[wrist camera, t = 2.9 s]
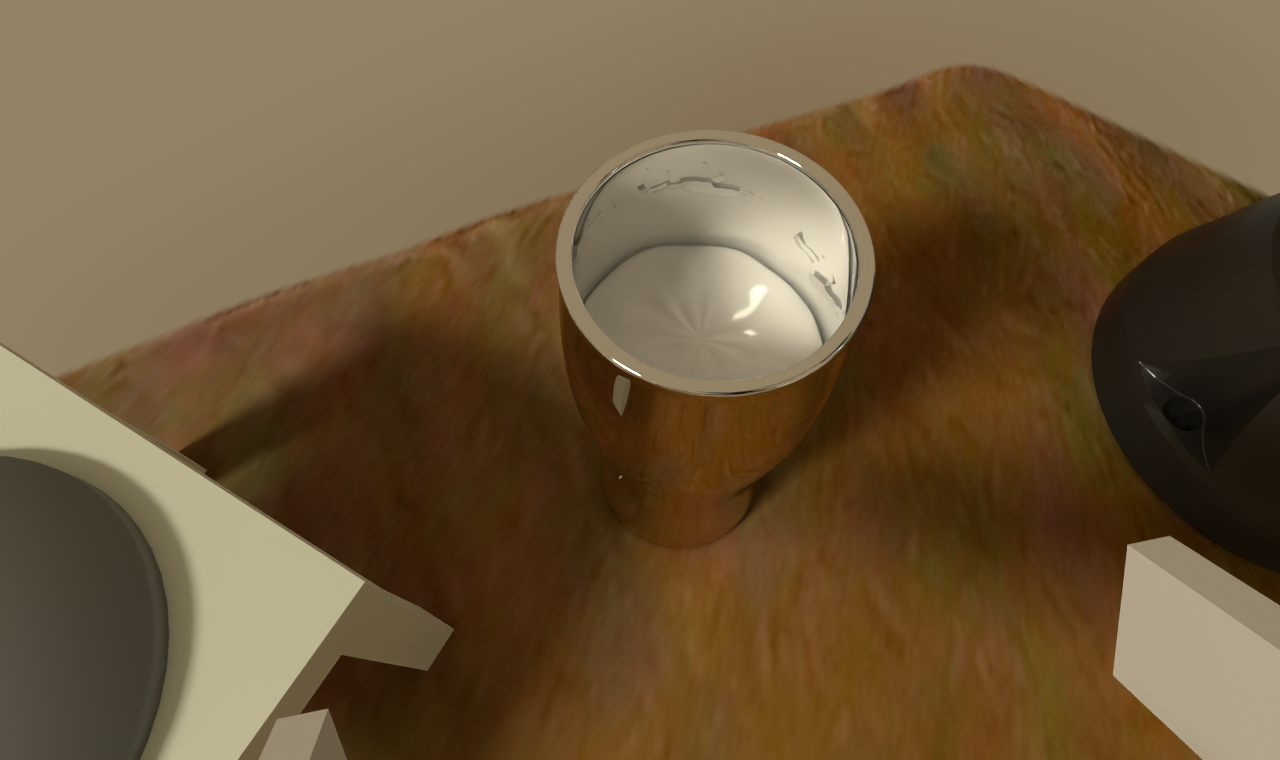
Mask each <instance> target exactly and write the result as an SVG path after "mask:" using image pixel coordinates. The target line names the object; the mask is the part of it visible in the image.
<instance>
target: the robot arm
mask: <svg viewBox="0 0 1280 760" xmlns="http://www.w3.org/2000/svg"><path fill="white" fill-rule="evenodd" d="M1092 370H1093V378H1094V383H1095V388H1096V392H1097V396H1098V399H1099V402H1100V405H1101V408H1102V411H1103V414H1104V416H1105V418H1106V421H1107V423H1108V425H1109V427H1110V429H1111V431H1112V433H1113V435H1114V437H1115V439H1116V441H1117V442H1118V444H1119V446H1120V447H1121V449H1122V451H1123V452H1124V454H1125V455H1126V457H1127V458H1128V460H1129V461H1130V463H1131V464H1132V465H1133V467H1134V468H1135V469H1136V471H1137V472H1138V473H1139V474H1140V476H1141V477H1142V478H1143V479H1144V480H1145V482H1146V483H1147V484H1148V485H1149V486H1150V487H1151V488H1152V490H1153V491H1154V492H1155V493H1156V494H1157V495H1158V496H1159V497H1160V498H1161V499H1162V500H1163V501H1164V502H1165V503H1166V504H1167V505H1169V506H1170V507H1171V508H1172V509H1173V510H1174V511H1175V512H1176V513H1177V514H1179V515H1180V516H1181V517H1182V518H1183V519H1185V520H1186V521H1187V522H1188V523H1190V524H1191V525H1192V526H1194V527H1195V528H1196V529H1198V530H1199V531H1200V532H1202V533H1203V534H1205V535H1206V536H1208V537H1209V538H1211V539H1212V540H1214V541H1215V542H1217V543H1218V544H1220V545H1222V546H1223V547H1225V548H1227V549H1228V550H1230V551H1232V552H1234V553H1236V554H1238V555H1240V556H1241V557H1243V558H1245V559H1247V560H1249V561H1252V562H1254V563H1256V564H1258V565H1261V566H1263V567H1265V568H1268V569H1271V570H1273V571H1276V572H1278V573H1280V193H1278V194H1276V195H1273V196H1271V197H1268V198H1266V199H1263V200H1261V201H1259V202H1256V203H1254V204H1252V205H1249V206H1247V207H1244V208H1242V209H1240V210H1237V211H1235V212H1233V213H1230V214H1228V215H1226V216H1223V217H1221V218H1219V219H1217V220H1214V221H1212V222H1209V223H1205V224H1202V225H1200V226H1197V227H1195V228H1193V229H1190V230H1188V231H1186V232H1184V233H1182V234H1180V235H1178V236H1176V237H1175V238H1173V239H1171V240H1170V241H1168V242H1167V243H1165V244H1164V245H1162V246H1161V247H1159V248H1158V249H1157V250H1155V251H1154V252H1153V253H1152V254H1151V255H1149V256H1148V257H1147V258H1146V259H1145V260H1144V261H1143V262H1142V263H1140V264H1139V265H1138V266H1137V267H1136V268H1135V269H1134V270H1133V271H1131V272H1130V273H1129V274H1128V275H1127V276H1126V277H1125V278H1124V279H1123V280H1122V281H1121V282H1120V283H1119V284H1118V285H1117V286H1116V287H1115V288H1114V290H1113V291H1112V292H1111V294H1110V295H1109V297H1108V298H1107V300H1106V301H1105V303H1104V305H1103V307H1102V309H1101V311H1100V314H1099V316H1098V319H1097V322H1096V326H1095V330H1094V335H1093V342H1092ZM1113 676H1114V677H1115V678H1116V679H1117V680H1118V681H1120V682H1121V683H1122V684H1123V685H1124V686H1125V687H1126V688H1127V689H1128V690H1129V691H1130V692H1131V693H1132V694H1133V695H1134V696H1135V697H1137V698H1138V699H1139V700H1140V701H1141V702H1142V703H1143V704H1144V705H1145V706H1146V707H1147V708H1148V709H1149V710H1150V711H1151V712H1153V713H1154V714H1155V715H1156V716H1157V717H1158V718H1159V719H1160V720H1161V721H1162V722H1163V723H1164V724H1165V725H1166V726H1167V727H1168V728H1170V729H1171V730H1172V731H1173V732H1174V733H1175V734H1176V735H1177V736H1178V737H1179V738H1180V739H1181V740H1182V741H1183V742H1184V743H1186V744H1187V745H1188V746H1189V747H1190V748H1191V749H1192V750H1193V751H1194V752H1195V753H1196V754H1197V755H1198V756H1199V757H1200V758H1201V759H1203V760H1280V605H1278V604H1277V603H1275V602H1273V601H1272V600H1270V599H1269V598H1267V597H1265V596H1264V595H1262V594H1261V593H1259V592H1258V591H1256V590H1254V589H1253V588H1251V587H1250V586H1248V585H1247V584H1245V583H1243V582H1242V581H1240V580H1239V579H1237V578H1235V577H1234V576H1232V575H1231V574H1229V573H1228V572H1226V571H1224V570H1223V569H1221V568H1220V567H1218V566H1217V565H1215V564H1213V563H1212V562H1210V561H1209V560H1207V559H1205V558H1204V557H1202V556H1201V555H1199V554H1198V553H1196V552H1194V551H1193V550H1191V549H1190V548H1188V547H1187V546H1185V545H1183V544H1182V543H1180V542H1179V541H1177V540H1175V539H1174V538H1172V537H1171V536H1167V537H1162V538H1157V539H1153V540H1148V541H1143V542H1138V543H1133V544H1128V545H1127V554H1126V563H1125V572H1124V581H1123V590H1122V599H1121V608H1120V617H1119V626H1118V635H1117V644H1116V653H1115V662H1114V671H1113ZM259 760H347V758H346V756H345V753H344V750H343V747H342V745H341V742H340V739H339V736H338V734H337V731H336V728H335V725H334V723H333V720H332V717H331V715H330V712H329V709H324V710H319V711H314V712H309V713H304V714H300V715H295V716H290V717H285V718H280V719H277V720H276V722H275V724H274V727H273V729H272V731H271V733H270V736H269V738H268V740H267V742H266V744H265V747H264V749H263V751H262V753H261V756H260V758H259Z"/></svg>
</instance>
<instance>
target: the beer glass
mask: <svg viewBox="0 0 1280 760" xmlns="http://www.w3.org/2000/svg"><path fill="white" fill-rule="evenodd" d="M555 267H556V276H557V281H558V286H559V313H560V329H561V341H562V348H563V354H564V361H565V367H566V372H567V377H568V380H569V384H570V387H571V390H572V394H573V397H574V400H575V404H576V407H577V409H578V412H579V414H580V416H581V418H582V420H583V422H584V424H585V426H586V427H587V429H588V431H589V433H590V435H591V436H592V438H593V440H594V441H595V443H596V445H597V446H598V448H599V449H600V450H601V452H602V453H603V459H602V482H603V487H604V491H605V495H606V498H607V500H608V502H609V504H610V506H611V508H612V510H613V512H614V513H615V515H616V516H617V517H618V519H619V520H620V521H621V522H622V523H623V524H624V525H625V526H626V527H627V528H628V529H630V530H631V531H632V532H634V533H635V534H636V535H638V536H640V537H641V538H643V539H645V540H647V541H649V542H651V543H654V544H657V545H660V546H665V547H671V548H692V547H697V546H702V545H705V544H708V543H711V542H713V541H715V540H717V539H719V538H721V537H722V536H724V535H725V534H727V533H728V532H730V531H731V530H732V529H733V528H734V527H735V526H736V525H737V524H738V523H739V522H740V521H741V519H742V518H743V517H744V515H745V514H746V512H747V511H748V509H749V507H750V505H751V502H752V500H753V497H754V494H755V490H756V485H757V480H758V479H760V478H761V477H763V476H764V475H766V474H767V473H768V472H770V471H771V470H772V469H773V468H774V467H776V466H777V465H778V464H779V463H780V462H781V461H782V460H783V459H785V458H786V457H787V456H788V455H789V454H790V453H791V452H792V451H793V450H794V449H795V448H796V447H797V446H798V444H799V443H800V442H801V441H802V439H803V438H804V436H805V435H806V434H807V432H808V431H809V429H810V428H811V427H812V425H813V424H814V422H815V421H816V420H817V418H818V417H819V415H820V413H821V412H822V410H823V408H824V406H825V404H826V403H827V401H828V399H829V397H830V395H831V393H832V391H833V389H834V387H835V385H836V383H837V381H838V379H839V376H840V374H841V372H842V369H843V367H844V364H845V362H846V359H847V357H848V354H849V352H850V349H851V346H852V344H853V341H854V338H855V335H856V333H857V331H858V329H859V328H860V326H861V324H862V322H863V320H864V318H865V316H866V314H867V311H868V309H869V306H870V303H871V299H872V295H873V291H874V284H875V254H874V248H873V243H872V240H871V236H870V233H869V230H868V227H867V225H866V222H865V220H864V218H863V216H862V214H861V212H860V211H859V209H858V207H857V206H856V204H855V202H854V201H853V199H852V198H851V197H850V195H849V194H848V193H847V192H846V190H845V189H844V188H843V187H842V186H841V185H840V184H839V182H838V181H837V180H836V179H835V178H834V177H832V176H831V175H830V174H829V173H828V172H827V171H826V170H824V169H823V168H822V167H821V166H819V165H818V164H817V163H815V162H814V161H812V160H811V159H809V158H808V157H806V156H804V155H803V154H801V153H799V152H797V151H795V150H793V149H791V148H789V147H787V146H785V145H783V144H780V143H778V142H775V141H772V140H770V139H766V138H763V137H760V136H756V135H752V134H747V133H742V132H736V131H728V130H690V131H682V132H676V133H671V134H666V135H662V136H659V137H655V138H652V139H649V140H646V141H643V142H641V143H638V144H636V145H634V146H632V147H630V148H628V149H626V150H624V151H622V152H621V153H619V154H617V155H615V156H614V157H613V158H611V159H610V160H608V161H607V162H605V163H604V164H603V165H602V166H600V167H599V168H598V169H597V170H596V171H595V172H594V173H593V174H592V175H591V176H590V177H589V178H588V179H587V180H586V181H585V182H584V183H583V184H582V186H581V187H580V188H579V189H578V191H577V192H576V194H575V195H574V197H573V198H572V200H571V202H570V203H569V205H568V207H567V209H566V211H565V214H564V216H563V219H562V221H561V224H560V228H559V232H558V236H557V241H556V250H555Z"/></svg>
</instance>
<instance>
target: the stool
mask: <svg viewBox="0 0 1280 760" xmlns="http://www.w3.org/2000/svg"><path fill="white" fill-rule="evenodd" d="M206 471H207V470H206V469H205V468H203V467H202V466H200V465H199V464H197V463H195V462H194V461H192V460H191V459H189V458H188V457H186V456H185V455H183V454H181V453H180V452H178V451H177V450H175V449H173V448H171V447H170V446H168V445H166V444H164V443H162V442H161V441H159V440H157V439H155V438H153V437H152V436H150V435H148V434H146V433H145V432H143V431H141V430H139V429H137V428H136V427H134V426H132V425H130V424H128V423H127V422H125V421H123V420H121V419H120V418H118V417H116V416H114V415H112V414H111V413H109V412H107V411H106V410H104V409H103V408H101V407H100V406H98V405H97V404H95V403H94V402H92V401H90V400H89V399H87V398H86V397H84V396H83V395H81V394H80V393H78V392H77V391H75V390H73V389H72V388H70V387H69V386H67V385H66V384H64V383H63V382H61V381H60V380H58V379H56V378H55V377H53V376H52V375H50V374H49V373H47V372H46V371H44V370H42V369H41V368H39V367H37V366H36V365H35V364H33V363H32V362H30V361H29V360H27V359H25V358H24V357H22V356H21V355H19V354H18V353H16V352H15V351H13V350H12V349H10V348H8V347H7V346H5V345H3V344H2V343H0V760H259V758H260V756H261V753H262V751H263V749H264V747H265V744H266V742H267V740H268V738H269V736H270V733H271V731H272V729H273V727H274V724H275V722H276V720H277V719H280V718H285V717H290V716H295V715H300V713H301V712H302V711H303V709H304V708H305V706H306V705H307V703H308V702H309V701H310V699H311V698H312V696H313V695H314V693H315V692H316V691H317V689H318V688H319V686H320V685H321V683H322V682H323V681H324V679H325V678H326V676H327V675H328V673H329V672H330V671H331V669H332V668H333V666H334V665H335V663H336V662H337V661H338V659H339V658H340V656H341V655H344V656H350V657H355V658H361V659H366V660H371V661H377V662H382V663H388V664H393V665H399V666H404V667H409V668H415V669H420V670H426V671H428V669H429V668H430V666H431V665H432V663H433V662H434V660H435V659H436V657H437V655H438V654H439V652H440V651H441V649H442V648H443V646H444V645H445V643H446V642H447V640H448V638H449V637H450V635H451V634H452V632H453V631H454V629H453V628H452V627H450V626H449V625H447V624H445V623H444V622H442V621H441V620H439V619H438V618H436V617H435V616H433V615H432V614H430V613H428V612H427V611H425V610H424V609H422V608H421V607H419V606H417V605H415V604H413V603H411V602H409V601H406V600H404V599H402V598H400V597H398V596H396V595H394V594H392V593H389V592H387V591H385V590H383V589H381V588H380V587H378V586H377V585H375V584H374V583H372V582H371V581H369V580H367V579H366V578H364V577H363V576H361V575H360V574H358V573H357V572H355V571H354V570H352V569H350V568H349V567H347V566H346V565H344V564H343V563H341V562H340V561H338V560H337V559H335V558H333V557H332V556H330V555H329V554H327V553H326V552H324V551H323V550H321V549H319V548H318V547H316V546H315V545H313V544H312V543H310V542H309V541H307V540H306V539H304V538H302V537H301V536H299V535H298V534H296V533H295V532H293V531H292V530H290V529H289V528H287V527H285V526H284V525H282V524H281V523H279V522H278V521H276V520H275V519H273V518H272V517H270V516H268V515H267V514H265V513H264V512H262V511H261V510H259V509H258V508H256V507H254V506H253V505H251V504H250V503H248V502H247V501H245V500H244V499H242V498H241V497H239V496H237V495H236V494H234V493H233V492H231V491H230V490H228V489H227V488H225V487H224V486H222V485H220V484H219V483H217V482H216V481H214V480H213V479H211V478H210V477H208V476H207V475H205V472H206Z"/></svg>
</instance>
